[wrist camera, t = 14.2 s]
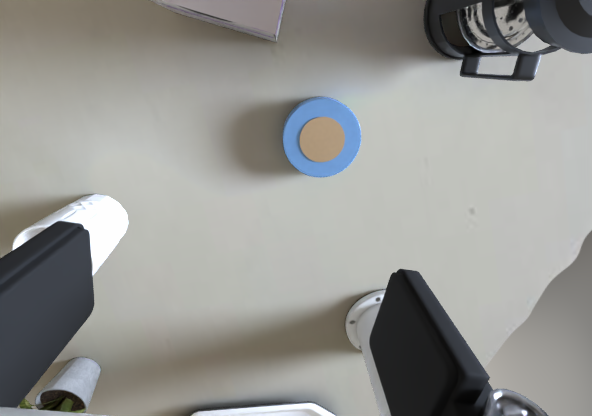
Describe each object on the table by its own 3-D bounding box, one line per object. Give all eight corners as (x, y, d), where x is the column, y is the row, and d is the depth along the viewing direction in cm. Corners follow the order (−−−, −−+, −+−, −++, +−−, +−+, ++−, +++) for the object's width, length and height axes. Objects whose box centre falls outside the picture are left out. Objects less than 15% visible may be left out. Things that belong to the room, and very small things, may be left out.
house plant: (82, 315, 49) (-5, 427, 34) (150, 368, 54) (100, 485, 39) (20, 358, 52) (-85, 478, 37) (90, 404, 56) (22, 526, 42)
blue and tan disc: (364, 103, 38) (370, 106, 36) (347, 176, 42) (351, 182, 39) (289, 90, 37) (289, 92, 35) (277, 165, 41) (277, 171, 38)
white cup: (96, 177, 40) (43, 210, 31) (146, 221, 43) (110, 263, 34) (56, 213, 42) (-5, 255, 33) (107, 254, 45) (62, 303, 36)
